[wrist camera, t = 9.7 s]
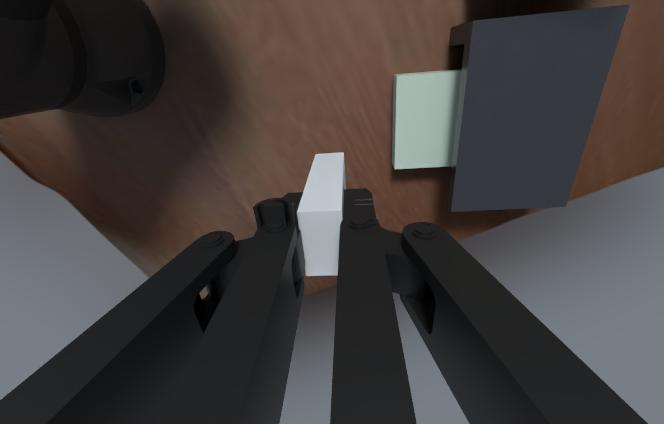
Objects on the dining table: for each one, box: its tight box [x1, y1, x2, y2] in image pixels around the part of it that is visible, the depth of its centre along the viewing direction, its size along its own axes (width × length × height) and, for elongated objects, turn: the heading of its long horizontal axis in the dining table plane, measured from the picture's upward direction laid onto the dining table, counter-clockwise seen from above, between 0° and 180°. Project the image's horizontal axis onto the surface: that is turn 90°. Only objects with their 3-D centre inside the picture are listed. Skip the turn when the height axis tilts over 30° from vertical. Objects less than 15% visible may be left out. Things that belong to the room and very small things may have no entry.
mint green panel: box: [392, 69, 462, 169], centre depth 33 cm, size 14×10×3 cm
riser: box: [447, 5, 629, 212], centre depth 30 cm, size 12×18×6 cm, turn 5°
